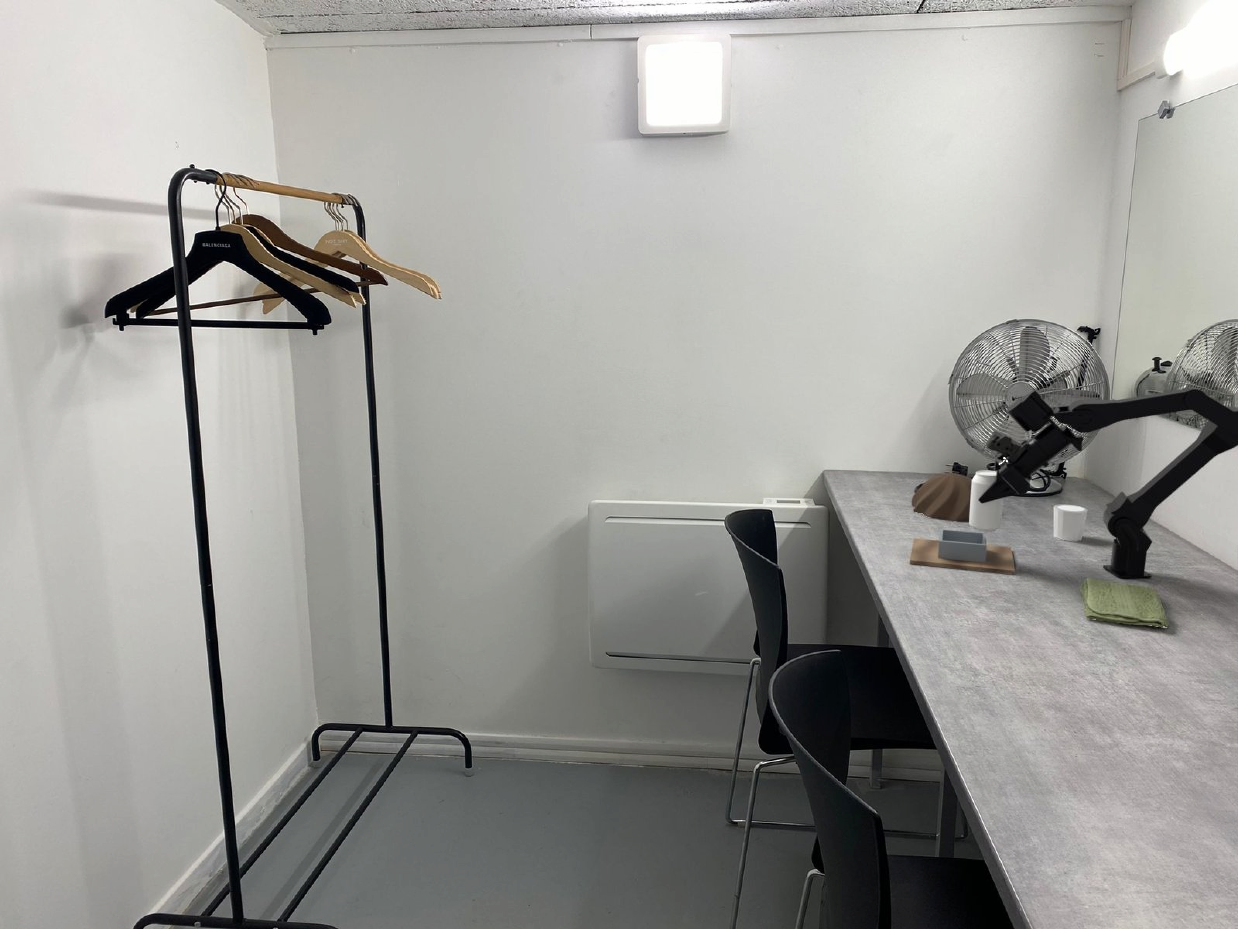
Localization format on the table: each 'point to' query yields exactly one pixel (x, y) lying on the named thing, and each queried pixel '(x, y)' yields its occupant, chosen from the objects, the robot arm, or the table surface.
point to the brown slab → (995, 560)
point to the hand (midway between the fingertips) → (979, 497)
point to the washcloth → (1122, 603)
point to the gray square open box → (962, 545)
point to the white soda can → (984, 504)
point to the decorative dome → (944, 497)
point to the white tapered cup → (1069, 522)
